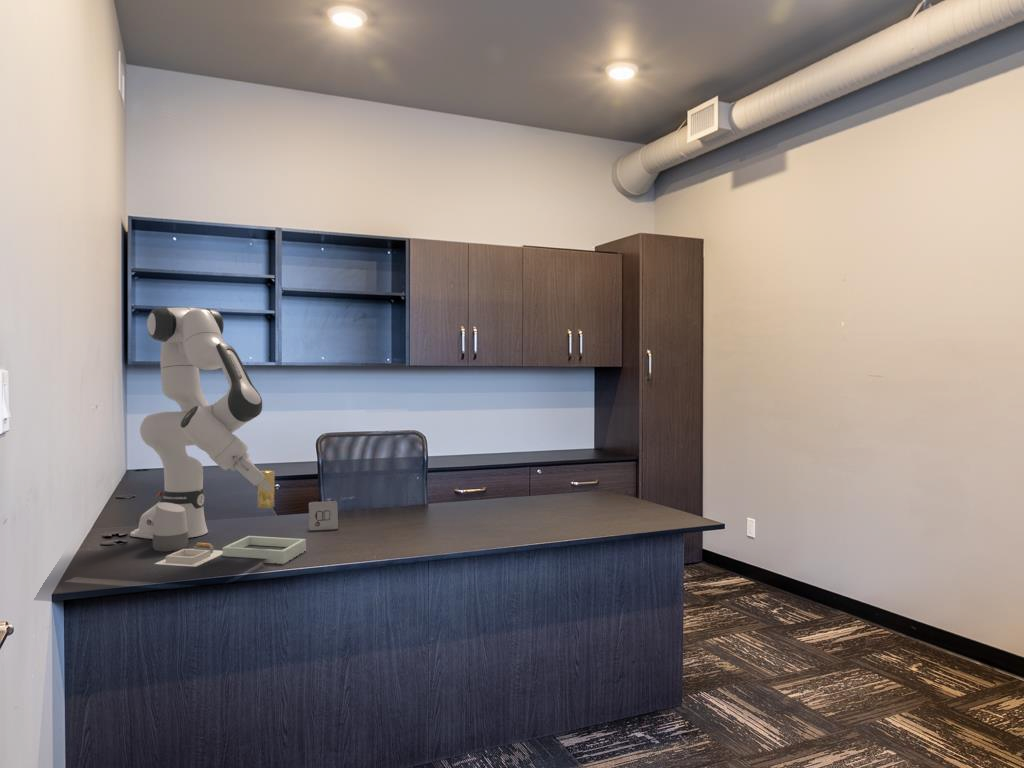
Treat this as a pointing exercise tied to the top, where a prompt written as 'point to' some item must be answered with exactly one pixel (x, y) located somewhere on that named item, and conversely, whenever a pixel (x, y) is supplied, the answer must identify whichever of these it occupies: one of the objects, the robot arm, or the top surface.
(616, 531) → the top surface
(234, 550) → the tray
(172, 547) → the smart speaker
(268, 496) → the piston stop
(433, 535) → the top surface
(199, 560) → the base
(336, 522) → the electrical switch
